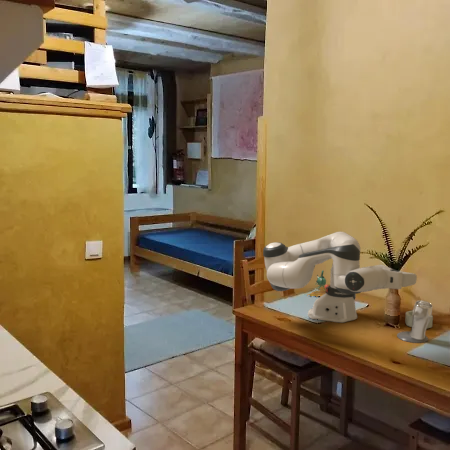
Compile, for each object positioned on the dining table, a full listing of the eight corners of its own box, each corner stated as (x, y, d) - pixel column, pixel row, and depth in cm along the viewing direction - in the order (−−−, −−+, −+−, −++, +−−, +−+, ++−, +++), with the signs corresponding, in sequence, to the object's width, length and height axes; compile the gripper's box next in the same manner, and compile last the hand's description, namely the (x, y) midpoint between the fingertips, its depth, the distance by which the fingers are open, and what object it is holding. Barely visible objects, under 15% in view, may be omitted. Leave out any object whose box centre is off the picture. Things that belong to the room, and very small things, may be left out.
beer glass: (421, 343, 200) (428, 310, 195) (405, 335, 205) (411, 303, 199) (429, 337, 205) (436, 304, 200) (412, 329, 209) (419, 298, 204)
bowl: (407, 328, 217) (408, 317, 216) (404, 320, 227) (404, 309, 227) (433, 330, 215) (434, 319, 214) (428, 322, 225) (429, 311, 224)
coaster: (399, 341, 202) (399, 340, 202) (395, 331, 214) (395, 330, 214) (430, 343, 200) (430, 343, 200) (425, 333, 211) (425, 332, 211)
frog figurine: (342, 297, 264) (340, 270, 262) (309, 302, 263) (307, 275, 260) (336, 292, 274) (334, 266, 271) (304, 296, 272) (302, 270, 270)
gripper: (356, 280, 195) (377, 276, 204) (403, 290, 179) (423, 285, 188) (357, 264, 195) (378, 261, 203) (404, 273, 179) (425, 269, 187)
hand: (400, 273), depth 196 cm, fingers open, 8 cm apart
